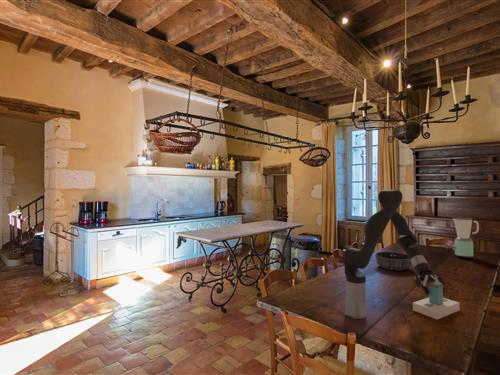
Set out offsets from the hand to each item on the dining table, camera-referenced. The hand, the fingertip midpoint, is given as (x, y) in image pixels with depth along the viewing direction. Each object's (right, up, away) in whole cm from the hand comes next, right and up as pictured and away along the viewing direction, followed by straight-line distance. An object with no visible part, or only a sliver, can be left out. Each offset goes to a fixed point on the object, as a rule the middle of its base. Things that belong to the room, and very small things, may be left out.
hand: (436, 293), depth 151 cm
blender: (+93, -7, +107) cm, 142 cm away
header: (0, -9, 0) cm, 9 cm away
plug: (0, -9, 0) cm, 9 cm away
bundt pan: (+16, -8, +79) cm, 81 cm away
